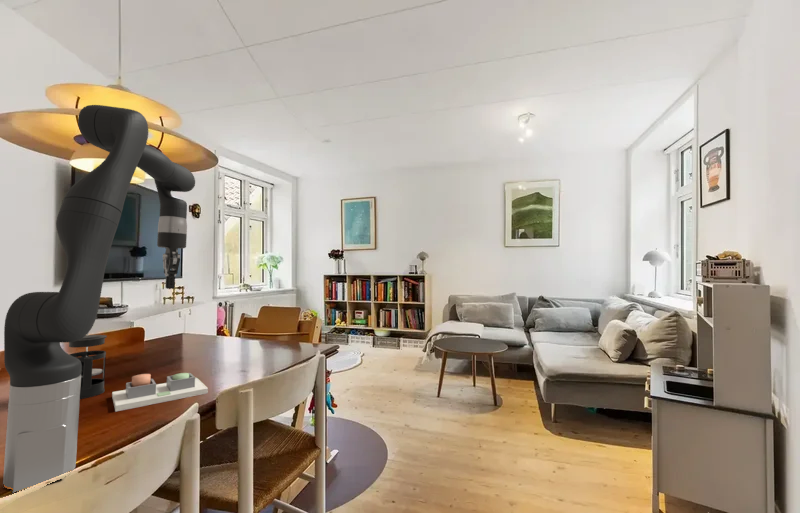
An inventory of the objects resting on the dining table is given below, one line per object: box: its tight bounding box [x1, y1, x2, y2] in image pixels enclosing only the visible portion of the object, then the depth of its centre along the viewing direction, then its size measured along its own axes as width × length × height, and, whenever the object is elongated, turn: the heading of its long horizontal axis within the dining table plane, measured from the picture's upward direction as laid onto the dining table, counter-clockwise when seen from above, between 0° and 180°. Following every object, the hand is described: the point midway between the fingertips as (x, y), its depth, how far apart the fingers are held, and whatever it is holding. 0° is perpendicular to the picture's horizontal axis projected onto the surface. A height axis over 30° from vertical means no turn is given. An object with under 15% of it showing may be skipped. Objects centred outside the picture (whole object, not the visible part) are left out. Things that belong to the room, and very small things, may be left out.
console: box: [111, 372, 209, 413], centre depth 104 cm, size 14×22×4 cm, turn 133°
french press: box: [68, 316, 108, 400], centre depth 104 cm, size 12×9×23 cm
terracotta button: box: [131, 373, 152, 387], centre depth 101 cm, size 4×4×3 cm
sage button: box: [172, 372, 190, 380], centre depth 108 cm, size 4×4×3 cm
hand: (169, 288), depth 107 cm, fingers closed
